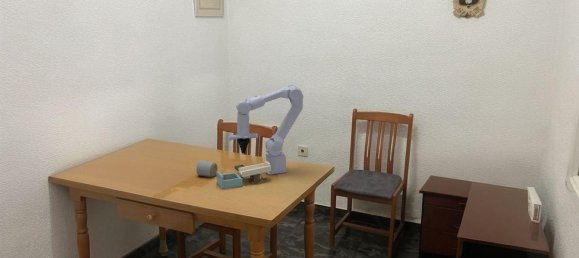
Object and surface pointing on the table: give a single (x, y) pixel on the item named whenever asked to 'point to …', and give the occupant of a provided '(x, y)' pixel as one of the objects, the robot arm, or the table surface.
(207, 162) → the ceramic mug
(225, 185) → the bin
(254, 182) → the lever stand
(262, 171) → the cream piece
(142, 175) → the table surface
